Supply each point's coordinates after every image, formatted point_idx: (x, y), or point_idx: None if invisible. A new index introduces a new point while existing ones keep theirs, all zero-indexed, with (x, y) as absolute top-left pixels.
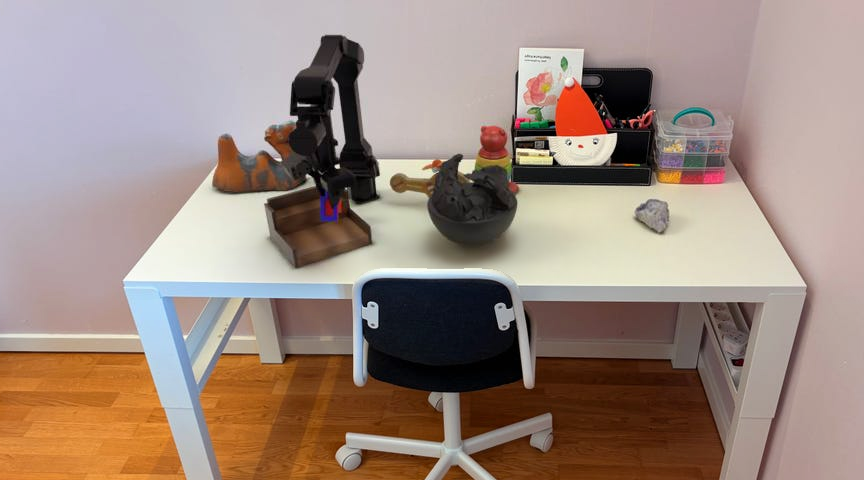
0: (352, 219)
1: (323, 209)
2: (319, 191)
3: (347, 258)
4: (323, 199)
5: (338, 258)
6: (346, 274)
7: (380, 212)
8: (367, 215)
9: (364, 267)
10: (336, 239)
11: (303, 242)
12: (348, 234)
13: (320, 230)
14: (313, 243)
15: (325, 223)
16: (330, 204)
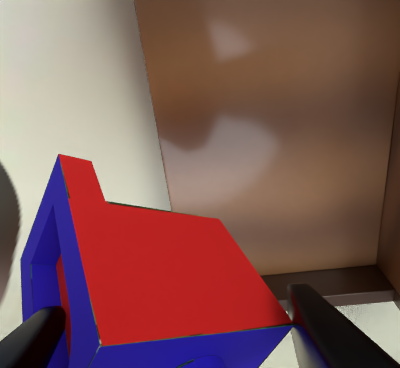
0: (331, 273)
1: (61, 240)
2: (322, 357)
3: (122, 167)
4: (74, 336)
5: (136, 137)
6: (3, 129)
7: (373, 340)
8: (383, 306)
9: (36, 200)
10: (209, 172)
11: (266, 15)
12: (228, 226)
13: (334, 132)
14: (228, 63)
15: (383, 171)
16: (17, 341)
